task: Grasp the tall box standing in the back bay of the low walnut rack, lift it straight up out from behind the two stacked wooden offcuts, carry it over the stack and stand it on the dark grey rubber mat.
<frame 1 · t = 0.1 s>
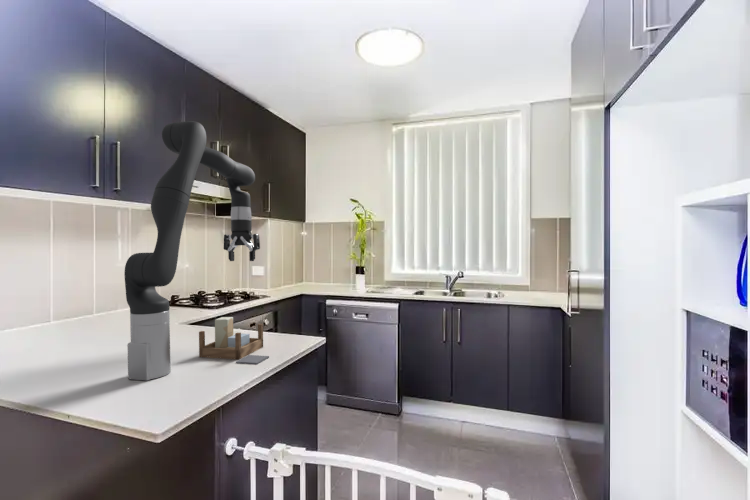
hand: (241, 261, 146), 29 cm above the countertop, fingers open, 8 cm apart
offcut low: (239, 354, 123), resting in rack, touching offcut top
rack: (232, 351, 124), on the countertop
mat: (252, 360, 115), on the countertop
offcut top: (239, 344, 123), point 3 cm above the countertop, touching offcut low
box: (224, 352, 125), resting in rack
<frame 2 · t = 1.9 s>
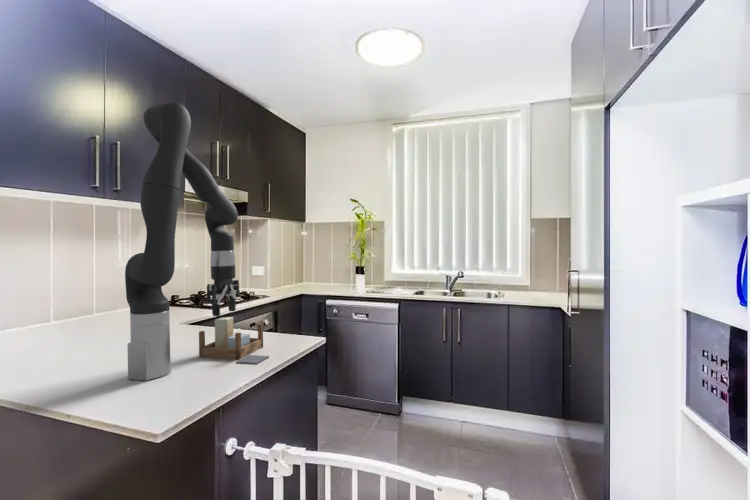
hand: (224, 313, 125), 13 cm above the countertop, fingers open, 8 cm apart
nothing on the countertop moved.
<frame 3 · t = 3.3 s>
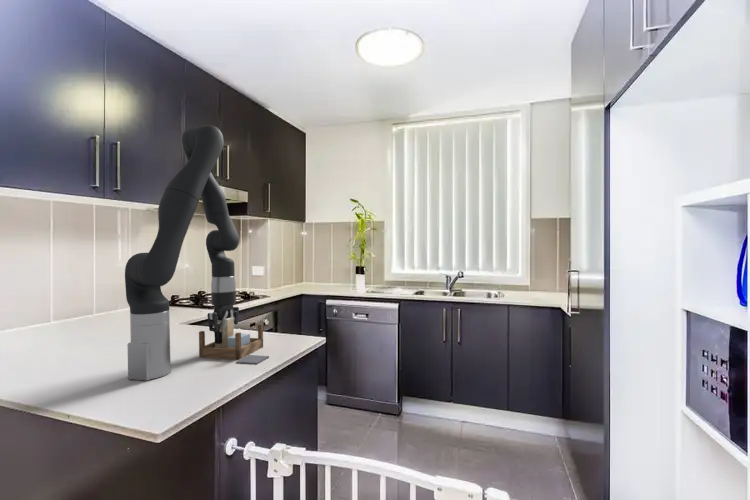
hand: (224, 340, 125), 4 cm above the countertop, fingers closed on box, 5 cm apart
box: (224, 352, 125), resting in rack, touching gripper
everything else where it was.
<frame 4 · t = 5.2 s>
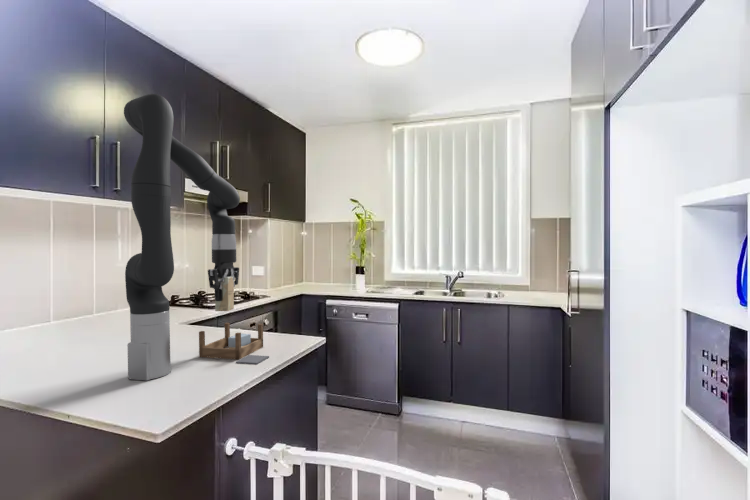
hand: (224, 299, 124), 17 cm above the countertop, fingers closed on box, 5 cm apart
offcut low: (240, 354, 123), resting in rack
offcut top: (239, 345, 123), point 3 cm above the countertop
box: (224, 310, 124), point 14 cm above the countertop, touching gripper
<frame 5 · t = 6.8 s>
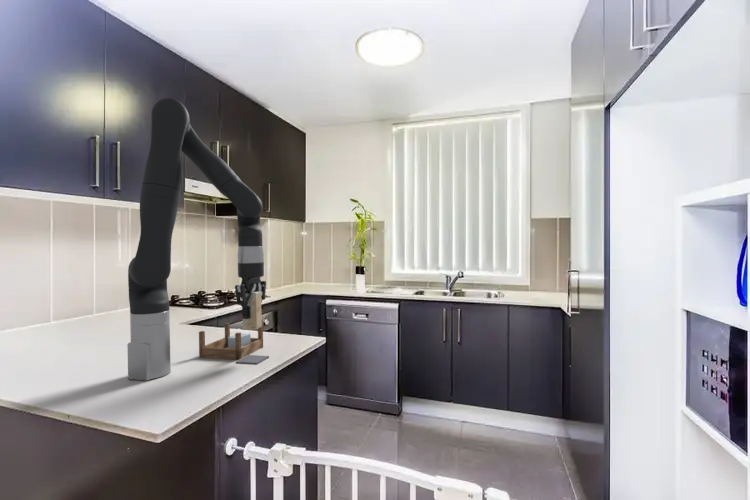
hand: (252, 316, 115), 13 cm above the countertop, fingers closed on box, 5 cm apart
offcut low: (240, 354, 123), resting in rack, touching offcut top
offcut top: (239, 344, 122), point 3 cm above the countertop, touching offcut low
box: (252, 328, 115), point 10 cm above the countertop, touching gripper
when the fingers open (5 cm above the countertop, at t = 8.8 s): box drops 1 cm, resting on mat.
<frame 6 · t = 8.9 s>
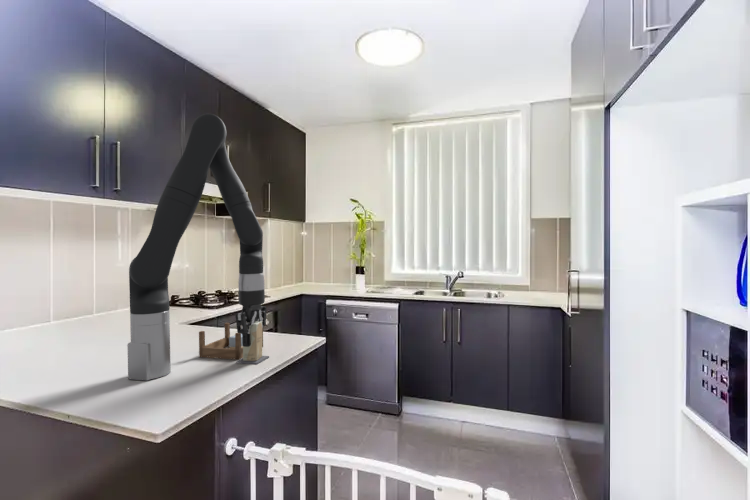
hand: (252, 343, 115), 5 cm above the countertop, fingers open, 5 cm apart
box: (252, 359, 115), resting on mat
everything else where it was.
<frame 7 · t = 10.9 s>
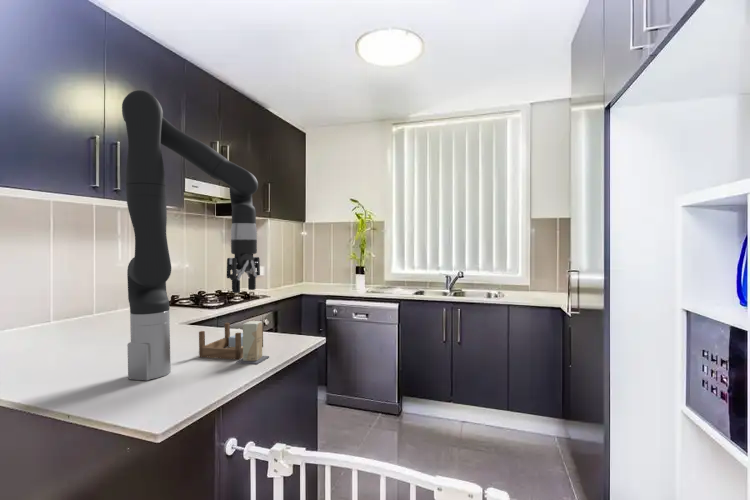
hand: (244, 291, 116), 21 cm above the countertop, fingers open, 8 cm apart
nothing on the countertop moved.
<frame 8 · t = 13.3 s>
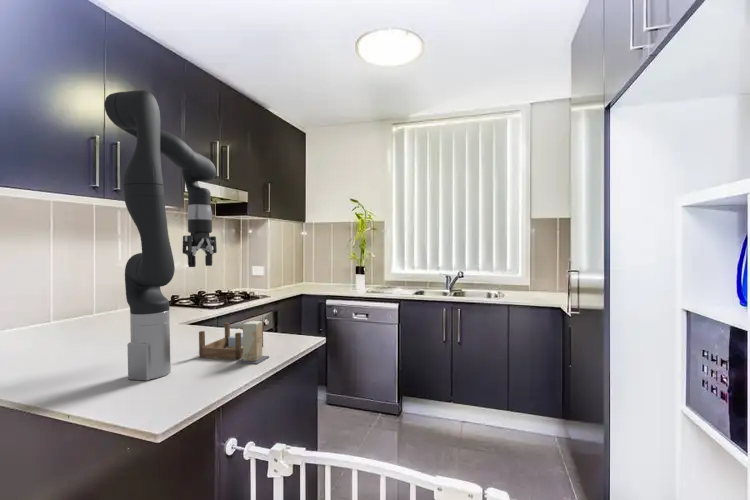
hand: (200, 266, 129), 28 cm above the countertop, fingers open, 8 cm apart
nothing on the countertop moved.
at the end: box inside the target area on the mat (0.2 cm from its centre), point 0.2 cm above the mat's base; box tilted 0°; the gripper is holding nothing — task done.
